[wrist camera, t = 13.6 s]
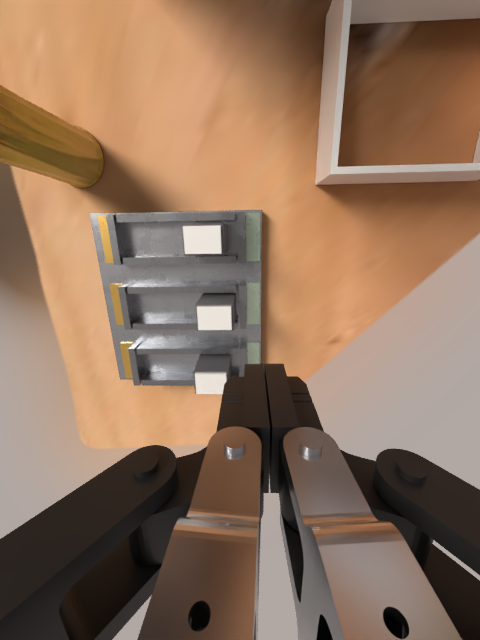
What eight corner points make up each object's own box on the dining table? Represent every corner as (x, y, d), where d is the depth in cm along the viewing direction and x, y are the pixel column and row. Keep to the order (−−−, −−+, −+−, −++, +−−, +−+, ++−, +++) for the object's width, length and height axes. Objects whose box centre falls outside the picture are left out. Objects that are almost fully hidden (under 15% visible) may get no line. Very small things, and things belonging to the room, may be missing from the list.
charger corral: (326, 17, 26) (347, -44, 20) (514, 8, 25) (591, -57, 19) (315, 184, 30) (330, 174, 25) (473, 180, 30) (526, 169, 24)
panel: (96, 214, 32) (79, 212, 29) (261, 210, 32) (262, 208, 28) (124, 374, 39) (113, 387, 36) (260, 374, 39) (261, 387, 35)
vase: (63, 114, 29) (-97, 12, 16) (113, 150, 30) (3, 84, 17) (43, 166, 31) (-118, 115, 17) (91, 198, 32) (-26, 174, 18)
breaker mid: (203, 292, 33) (194, 305, 28) (235, 292, 33) (232, 304, 28) (205, 315, 34) (196, 331, 29) (236, 315, 34) (233, 331, 29)
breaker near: (192, 225, 31) (180, 223, 25) (227, 224, 31) (222, 223, 25) (194, 251, 32) (183, 256, 26) (228, 251, 32) (223, 255, 26)
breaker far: (201, 350, 36) (192, 372, 30) (231, 350, 36) (227, 372, 30) (203, 370, 37) (194, 395, 31) (231, 370, 37) (228, 395, 31)
